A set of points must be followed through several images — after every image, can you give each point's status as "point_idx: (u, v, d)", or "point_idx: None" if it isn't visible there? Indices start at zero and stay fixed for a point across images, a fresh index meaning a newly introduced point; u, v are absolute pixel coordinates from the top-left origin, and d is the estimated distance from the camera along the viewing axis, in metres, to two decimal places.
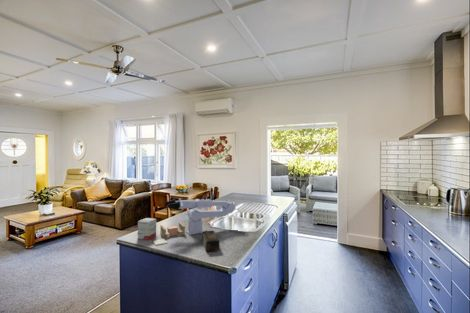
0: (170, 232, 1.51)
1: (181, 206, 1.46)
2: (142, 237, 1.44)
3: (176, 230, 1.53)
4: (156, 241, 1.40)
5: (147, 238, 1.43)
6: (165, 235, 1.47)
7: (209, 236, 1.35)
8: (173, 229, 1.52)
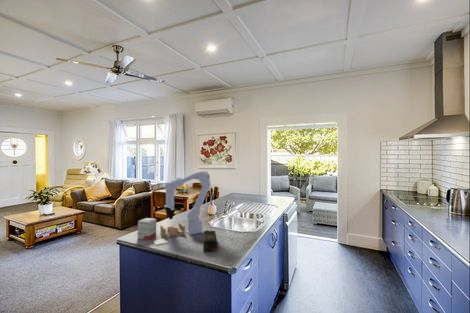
0: (171, 232, 1.51)
1: (172, 209, 1.54)
2: (142, 237, 1.44)
3: (176, 230, 1.53)
4: (156, 241, 1.40)
5: (147, 238, 1.43)
6: (165, 235, 1.47)
7: (208, 236, 1.35)
8: (173, 229, 1.52)
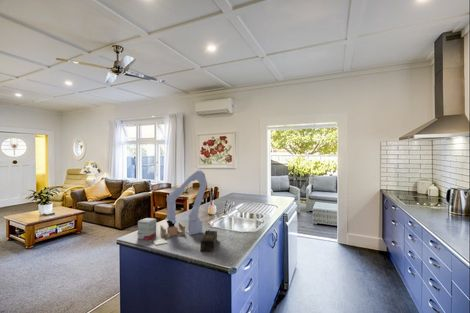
0: (171, 232, 1.51)
1: (173, 222, 1.51)
2: (142, 237, 1.44)
3: (176, 230, 1.53)
4: (156, 241, 1.40)
5: (147, 238, 1.43)
6: (165, 235, 1.47)
7: (207, 236, 1.36)
8: (173, 229, 1.52)
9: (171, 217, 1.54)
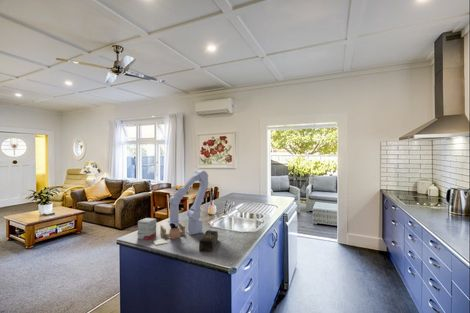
0: (173, 235, 1.46)
1: (177, 225, 1.45)
2: (142, 237, 1.44)
3: (178, 233, 1.47)
4: (156, 241, 1.40)
5: (147, 238, 1.43)
6: (165, 235, 1.47)
7: (207, 236, 1.36)
8: (175, 232, 1.46)
9: (174, 220, 1.48)
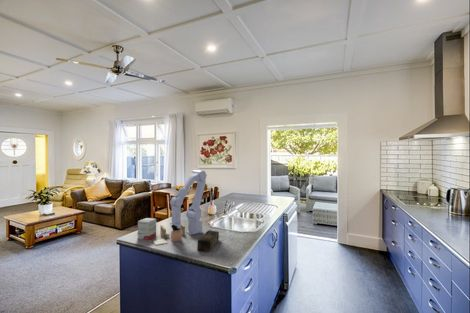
0: (174, 238, 1.42)
1: (179, 227, 1.41)
2: (142, 237, 1.44)
3: (180, 236, 1.43)
4: (156, 241, 1.40)
5: (147, 238, 1.43)
6: (165, 235, 1.47)
7: (207, 236, 1.36)
8: (177, 235, 1.42)
9: (176, 221, 1.44)
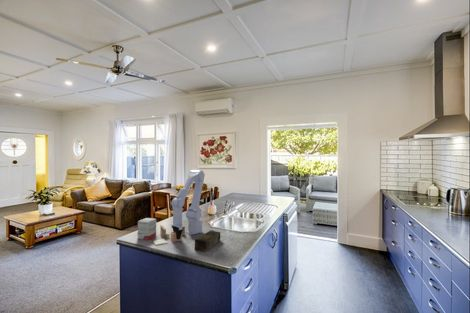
0: (174, 238, 1.42)
1: (180, 228, 1.38)
2: (142, 237, 1.44)
3: None
4: (156, 241, 1.40)
5: (147, 238, 1.43)
6: (165, 235, 1.47)
7: (206, 235, 1.36)
8: None
9: (177, 223, 1.42)
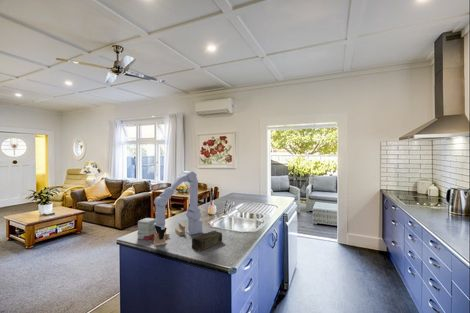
0: (157, 239, 1.37)
1: (162, 228, 1.34)
2: (142, 237, 1.44)
3: (164, 236, 1.39)
4: None
5: (147, 238, 1.43)
6: None
7: (205, 235, 1.37)
8: None
9: (160, 222, 1.37)
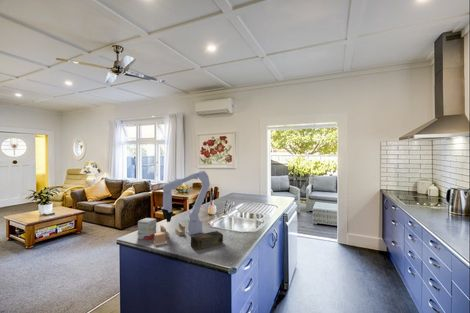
0: (157, 239, 1.37)
1: (169, 211, 1.48)
2: (142, 237, 1.44)
3: (164, 236, 1.39)
4: None
5: (147, 238, 1.43)
6: None
7: (204, 235, 1.38)
8: (160, 235, 1.38)
9: (167, 206, 1.52)
